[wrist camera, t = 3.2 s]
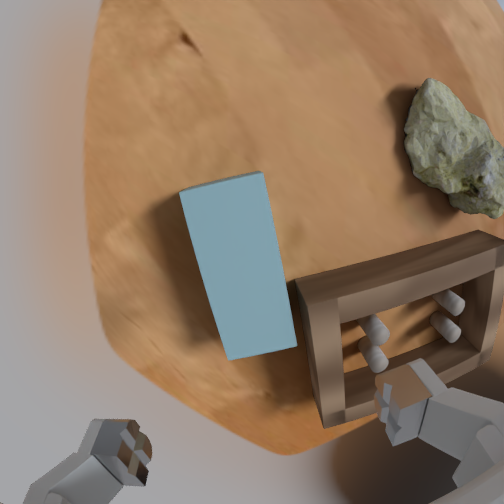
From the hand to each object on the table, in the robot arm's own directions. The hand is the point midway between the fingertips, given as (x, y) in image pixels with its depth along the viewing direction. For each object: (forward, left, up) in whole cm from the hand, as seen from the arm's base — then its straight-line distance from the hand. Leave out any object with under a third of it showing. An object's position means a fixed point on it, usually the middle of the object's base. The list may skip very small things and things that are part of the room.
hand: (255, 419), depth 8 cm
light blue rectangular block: (0, 0, -15) cm, 15 cm away
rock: (-5, +19, -15) cm, 25 cm away
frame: (+9, +13, -15) cm, 22 cm away
